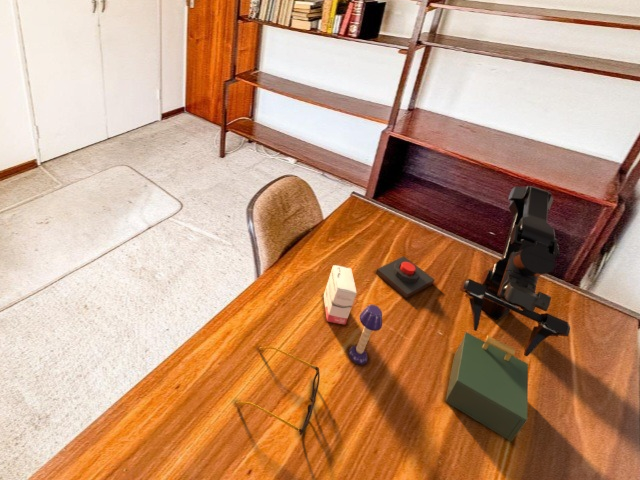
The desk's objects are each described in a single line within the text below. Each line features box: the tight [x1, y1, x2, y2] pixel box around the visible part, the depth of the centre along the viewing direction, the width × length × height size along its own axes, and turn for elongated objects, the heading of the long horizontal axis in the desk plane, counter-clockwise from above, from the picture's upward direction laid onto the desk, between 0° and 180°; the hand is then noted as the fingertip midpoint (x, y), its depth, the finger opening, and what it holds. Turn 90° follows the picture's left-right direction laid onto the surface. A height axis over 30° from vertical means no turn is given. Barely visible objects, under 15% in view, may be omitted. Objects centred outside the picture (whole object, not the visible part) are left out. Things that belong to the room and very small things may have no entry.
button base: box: [375, 256, 435, 299], centre depth 115 cm, size 12×10×4 cm
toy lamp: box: [348, 304, 383, 366], centre depth 90 cm, size 5×5×17 cm
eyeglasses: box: [235, 346, 321, 436], centre depth 85 cm, size 14×14×4 cm
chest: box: [445, 337, 526, 442], centre depth 85 cm, size 14×12×7 cm
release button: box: [400, 262, 416, 275], centre depth 114 cm, size 4×4×2 cm
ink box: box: [323, 264, 358, 325], centre depth 103 cm, size 9×5×12 cm, turn 168°
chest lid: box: [456, 331, 529, 423], centre depth 83 cm, size 14×12×4 cm
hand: (499, 342), depth 87 cm, fingers open, 9 cm apart
